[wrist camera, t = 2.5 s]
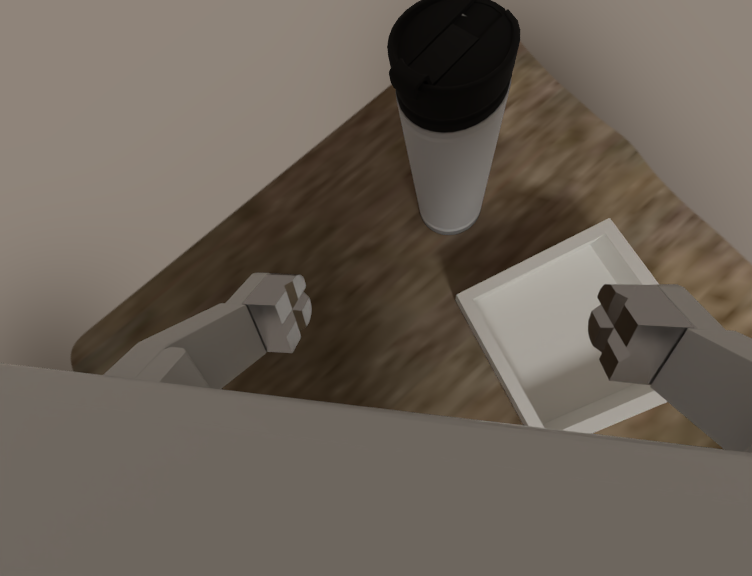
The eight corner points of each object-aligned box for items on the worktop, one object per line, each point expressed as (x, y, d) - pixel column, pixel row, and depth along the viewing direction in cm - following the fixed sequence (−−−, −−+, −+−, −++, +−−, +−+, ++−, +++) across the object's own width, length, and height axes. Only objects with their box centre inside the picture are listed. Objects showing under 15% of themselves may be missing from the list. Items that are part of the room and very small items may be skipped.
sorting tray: (687, 371, 27) (727, 376, 23) (530, 438, 28) (543, 453, 24) (589, 233, 30) (609, 217, 26) (455, 300, 32) (456, 294, 28)
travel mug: (406, 213, 35) (353, 50, 15) (448, 169, 34) (448, -53, 15) (449, 250, 33) (450, 117, 14) (493, 203, 33) (559, 2, 13)
